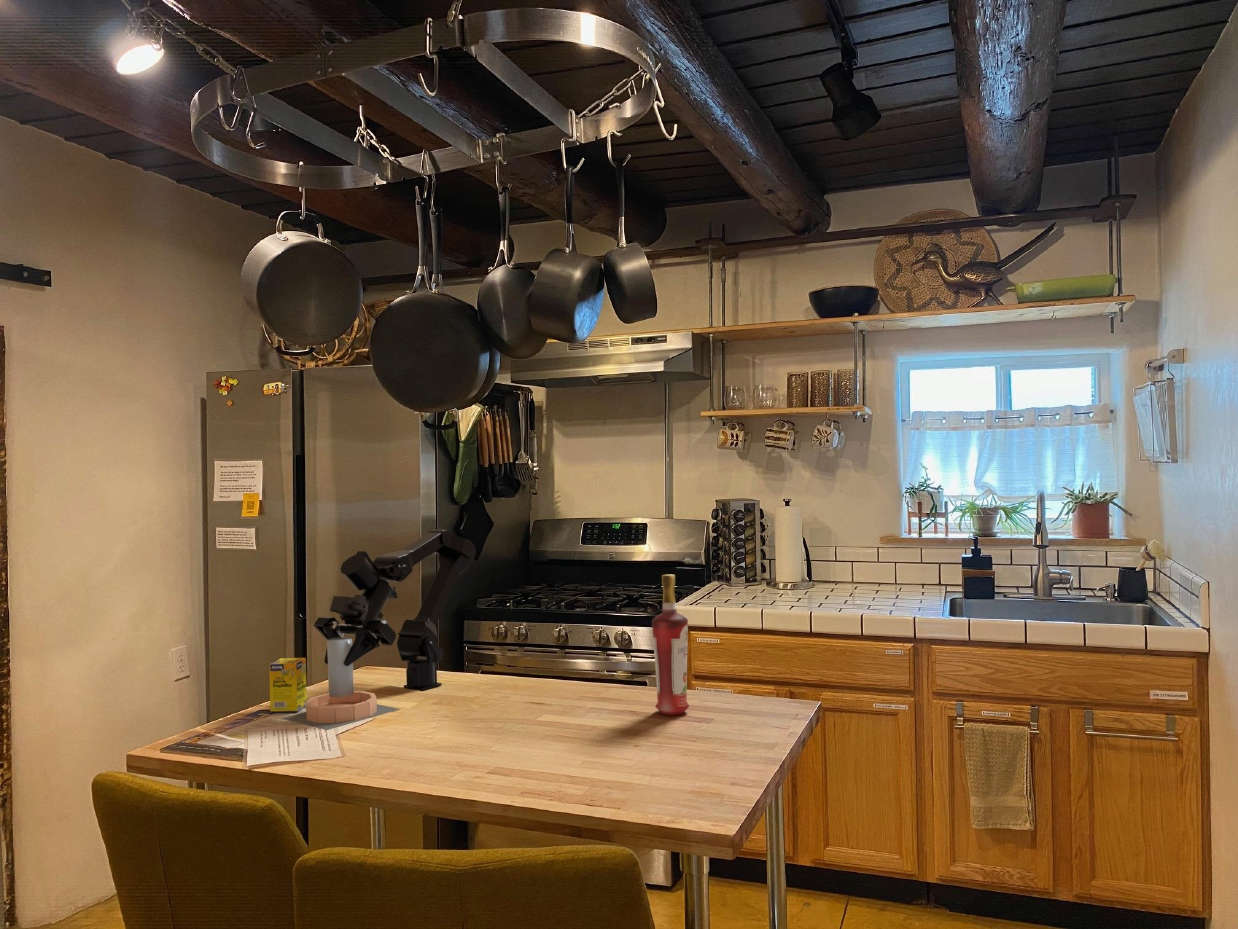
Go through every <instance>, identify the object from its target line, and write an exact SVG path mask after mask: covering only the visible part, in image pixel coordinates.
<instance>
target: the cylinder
mask: <svg viewBox="0 0 1238 929" xmlns="http://www.w3.org/2000/svg"><path fill="white" fill-rule="evenodd" d="M326 644H327V645H326V649H327V652H328V664H327V673H328V674H327V675H328V676H327V677H328V679H327V680H328V693H329V696H330V697H345V696H350V695H352V694H354V691H355V690H354V686H355V685H354V662H353V663H352V664H350V665H349V666H345V665H344V661H345V659H346V656H347V655H348V653H349V651H350V649H351V647H352V645H353V638H352V637H349V636H344V637H339V638H332V639H329V640H327V639H326Z"/></svg>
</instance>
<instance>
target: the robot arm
mask: <svg viewBox="0 0 1238 929" xmlns="http://www.w3.org/2000/svg"><path fill="white" fill-rule="evenodd" d="M476 552H477V551H476V546H475V545H474V543H473V542H472V541H471V540H470V539H466V538H464V537H461V536H458V535H457V534H453V533H452V532H451V531H449V530H447V529H431V530H429V531H428V532H427V533H426V534H425V535H422V536H421V537H420V538H419V539H416V540H415V541H413V542H411V543H410V544H409V545H407V546H405V547H404V548H401V550H397V551H393V552H387V553H384V554H381V555H379V556H376V558H375V559H374V560H372V559H371V558H370V556H369V554H368V552H366V550H358V551H357V552H356V554H354V555H352V556H350V557H348V558H347V559H346V560H344V561H343V563H342V564H341V566H340V572H341V574H342V575H343V576H344V577H345V579H347V581H348V582H349V583H350V584H351V585H352V586H353V587H354V589H355V590H356V591H361V593H360V594H354V596H353V597H352V596H344V595H343V596H341V595H333V597H332V600H331V603H330V607H329V612H332V613H333V612H334V613H337V614H339V618H340V620H341V621H343V622H344V623H340V622H339V621H338V620H337V619H336V618H335V616H318V617H317V619H316V621H315V622H314V624H313V627H314V628H315V629H316V630H317V632H318V633H319V634H321V635H322V636H323V637H324V639H325V640H326V641H327V640H329V639H332V638H339V637H345V635H351V636H352V635H354V636H355V638H354V641H353V642H352V647H351V649H350V651H349V653H348V655H347V656H346V659H345V661H344V665H345V666H349V665H350V664H352V663H353V664H354V663H355V662H356V661H357V660H359V659H360V658H361V657H363V656H364V655H366V654H368V653H370V652H371V651H373V650H374V649H376V648H380V646H381V645H382V646H393V644H394V642H395V640H396V639H397V640H396V645H397V646H396V647H397V649H398V652H399V653H398V654H399V656H400V657H399V658H400V660H401V661H402V662H407V664H406V666H407V668H406V670H405V672H406V673H405V674H406V677H405V678H406V684H404V685H403V688H405V689H410V690H415V691H420V692H421V691H426V690H429V689H433V688H437V687H440V686H442V684H443V683H442V682H438V673H437V672H438V671H437V669H438V668H437V667H438V664H437V663H439V662H440V661H442V660H443V657H444V649H442V647H441V646H440V645H439V644H438V642H437V641H438V631H437V624H438V621H439V619H440V617H441V615H442V613H443V610H444V608H445V605H446V603H447V602H448V599H449V597H450V594H451V592H452V590H453V588H454V586H455V583H456V581H457V579H458V577H459V575H461V574H462V573H463V572H464V571H466V570H467V569H468V568H469V567H470V566H471V564H472V562H473V561H474V559H475V556H476ZM434 553H436V554H437V560H438V565H439V567H438V570H437V572H436V574H435V577H434V579H433V581H432V582H431V585H430V587H429V589H428V591H427V594H426V596H425V598H424V601H423V602H422V604H421V606H420V608H419V611H418V613H417V615H416V617H414V619H405V621H404V622H403V624H402V627H401V629H400V631H399V632H398V633H396V631H395V630H394V629H393V627H391V625H390V624H389V623H388V621H387V620H385V619H383V617H384V614H383V613H382V611H383V609H384V607H385V605H386V603H387V602H388V600H389V599H394V600H395V599H398V592H397V591H396V586H392V585H391V584H390V582H403V581H405V580H406V579H407V578H408V577H409V576H410V575H411V574H412V573H413V570H414V567H415V566H416V565H418V564H419V563H420V562H422V561H423V560H425V559H427V558H428V557H429V556H431V555H433V554H434ZM397 635H398V638H397ZM379 643H381V645H380V644H379ZM324 663H325V664H326V665H328V652H327V648H326V651H325V657H324Z"/></svg>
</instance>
